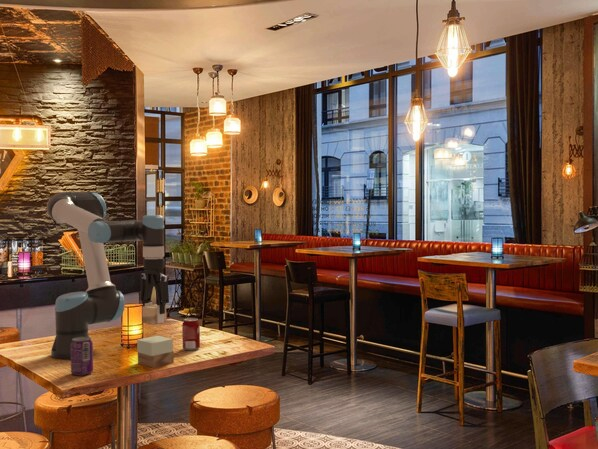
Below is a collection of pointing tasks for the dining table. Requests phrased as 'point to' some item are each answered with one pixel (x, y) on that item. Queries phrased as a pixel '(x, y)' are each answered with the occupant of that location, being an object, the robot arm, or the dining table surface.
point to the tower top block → (154, 345)
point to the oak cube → (151, 314)
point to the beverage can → (81, 356)
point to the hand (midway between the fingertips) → (154, 321)
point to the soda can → (191, 334)
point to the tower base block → (156, 359)
